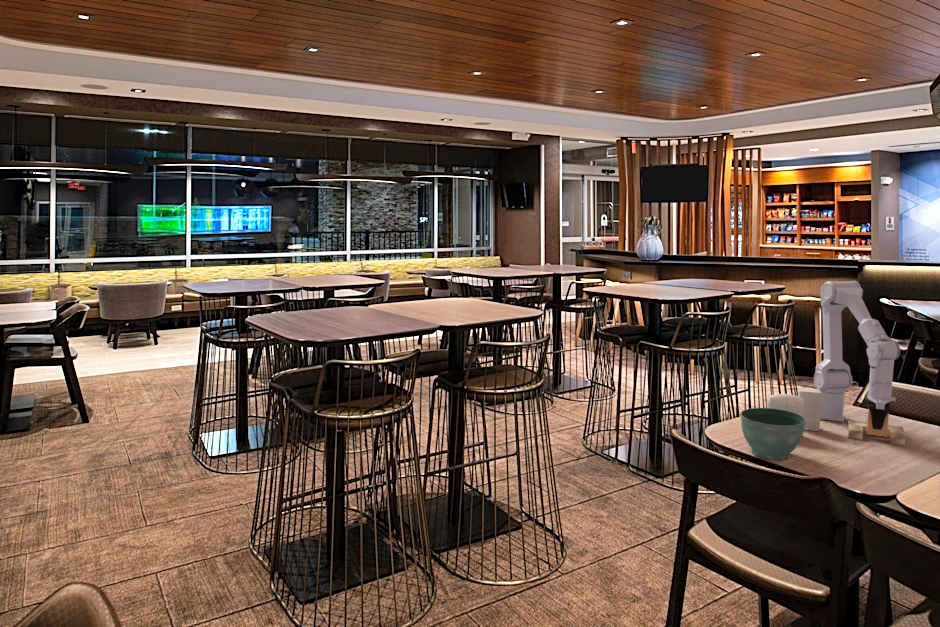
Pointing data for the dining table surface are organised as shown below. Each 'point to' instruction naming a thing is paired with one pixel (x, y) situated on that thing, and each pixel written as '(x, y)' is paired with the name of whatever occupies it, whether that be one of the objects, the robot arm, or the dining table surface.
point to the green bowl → (772, 431)
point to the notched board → (893, 432)
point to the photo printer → (786, 403)
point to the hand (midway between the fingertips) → (876, 427)
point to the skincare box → (811, 408)
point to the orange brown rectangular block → (875, 431)
